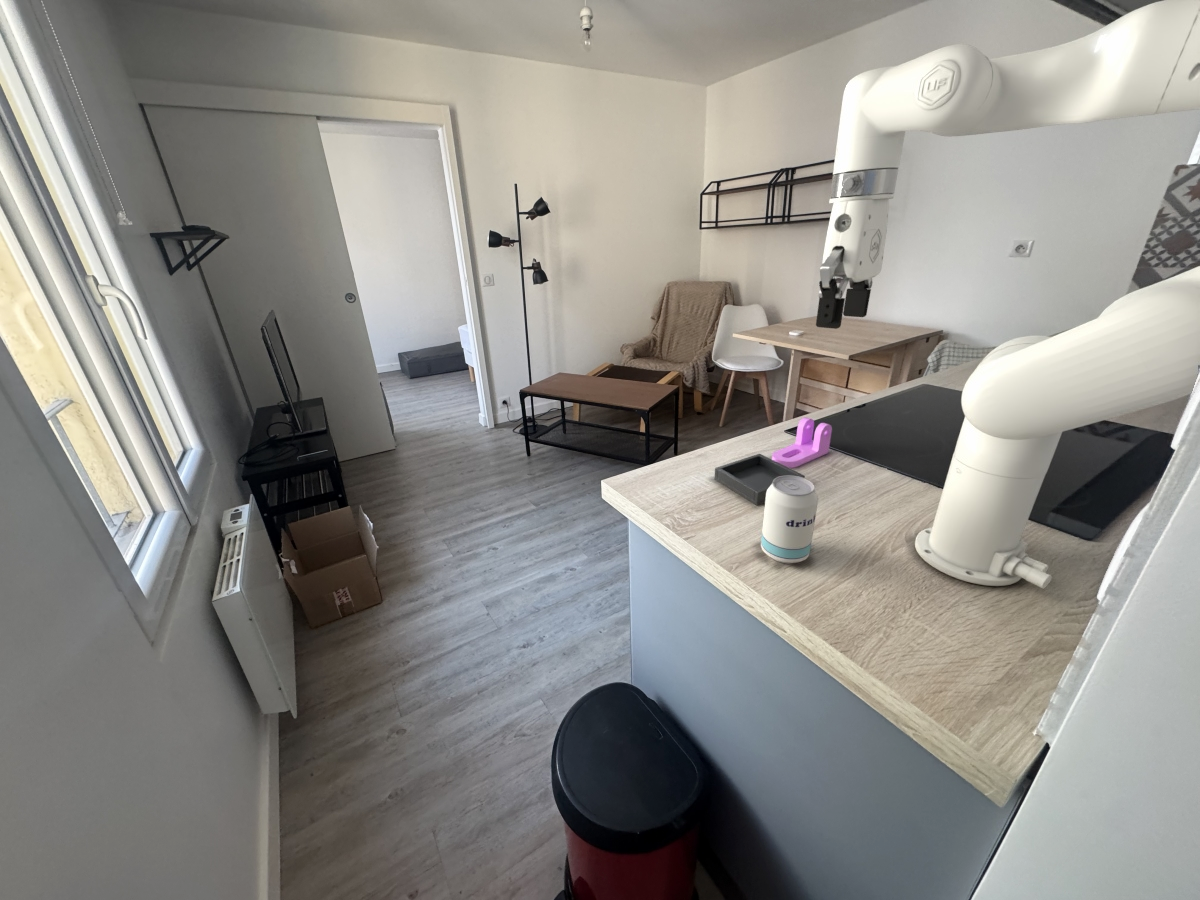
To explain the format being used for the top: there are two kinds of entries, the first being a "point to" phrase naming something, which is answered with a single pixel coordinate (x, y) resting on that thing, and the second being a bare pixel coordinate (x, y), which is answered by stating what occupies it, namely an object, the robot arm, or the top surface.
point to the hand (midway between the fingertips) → (841, 321)
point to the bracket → (805, 444)
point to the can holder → (752, 476)
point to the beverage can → (789, 519)
